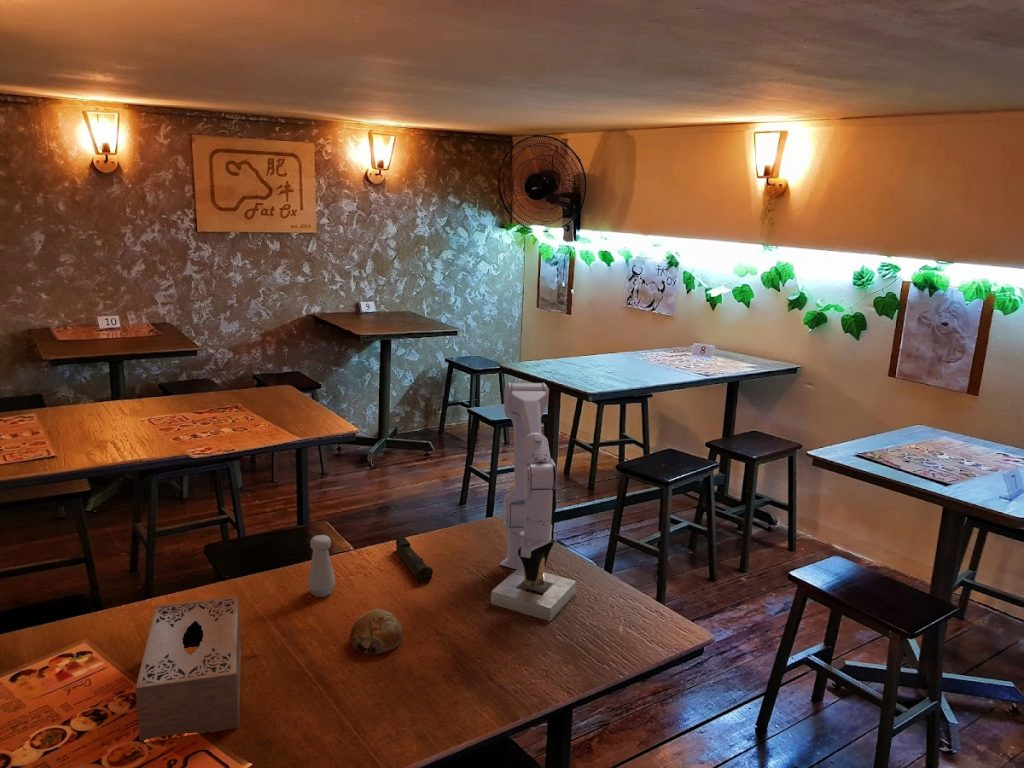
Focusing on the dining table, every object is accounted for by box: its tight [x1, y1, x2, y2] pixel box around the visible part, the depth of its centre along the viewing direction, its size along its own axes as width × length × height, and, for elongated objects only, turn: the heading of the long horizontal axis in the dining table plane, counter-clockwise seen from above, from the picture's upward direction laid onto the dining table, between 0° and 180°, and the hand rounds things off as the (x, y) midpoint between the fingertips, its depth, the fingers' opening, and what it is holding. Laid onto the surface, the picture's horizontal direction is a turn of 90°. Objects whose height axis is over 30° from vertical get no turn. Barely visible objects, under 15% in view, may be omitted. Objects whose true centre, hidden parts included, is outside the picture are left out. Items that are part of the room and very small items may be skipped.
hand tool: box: [395, 535, 434, 584], centre depth 179 cm, size 19×4×5 cm, turn 25°
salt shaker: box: [307, 534, 336, 598], centre depth 163 cm, size 6×6×13 cm
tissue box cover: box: [134, 595, 242, 741], centre depth 130 cm, size 26×14×10 cm, turn 19°
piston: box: [524, 556, 545, 587], centre depth 164 cm, size 4×4×6 cm
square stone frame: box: [490, 566, 577, 622], centre depth 166 cm, size 14×14×3 cm
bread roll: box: [349, 607, 404, 655], centre depth 147 cm, size 10×10×8 cm
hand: (535, 575), depth 165 cm, fingers closed on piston, 4 cm apart
